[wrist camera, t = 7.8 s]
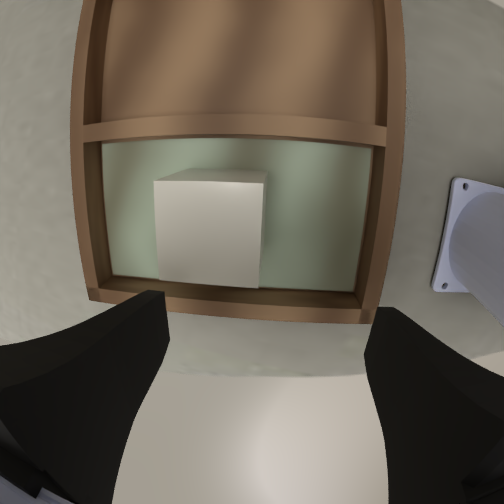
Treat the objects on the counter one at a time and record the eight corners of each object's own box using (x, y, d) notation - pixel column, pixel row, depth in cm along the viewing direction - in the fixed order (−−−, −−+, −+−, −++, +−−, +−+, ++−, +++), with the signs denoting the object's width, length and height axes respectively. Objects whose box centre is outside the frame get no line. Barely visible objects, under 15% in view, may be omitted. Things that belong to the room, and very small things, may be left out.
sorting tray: (381, -10, 12) (396, -30, 9) (362, 299, 20) (373, 324, 17) (109, -3, 13) (87, -17, 10) (109, 280, 21) (89, 300, 18)
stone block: (267, 170, 16) (263, 183, 11) (263, 248, 18) (258, 288, 13) (187, 168, 16) (153, 180, 12) (189, 243, 18) (159, 280, 13)
